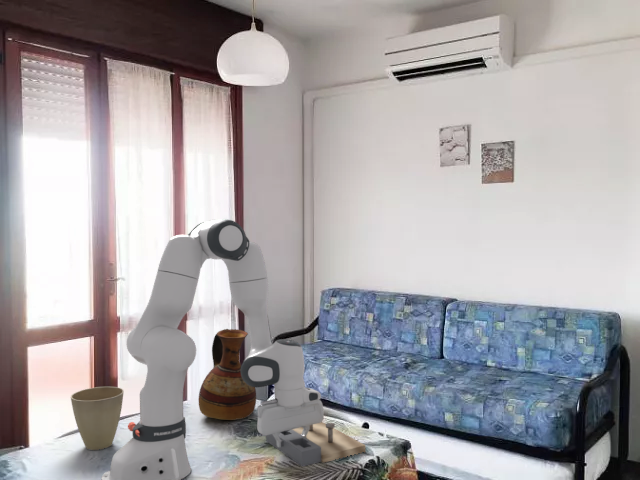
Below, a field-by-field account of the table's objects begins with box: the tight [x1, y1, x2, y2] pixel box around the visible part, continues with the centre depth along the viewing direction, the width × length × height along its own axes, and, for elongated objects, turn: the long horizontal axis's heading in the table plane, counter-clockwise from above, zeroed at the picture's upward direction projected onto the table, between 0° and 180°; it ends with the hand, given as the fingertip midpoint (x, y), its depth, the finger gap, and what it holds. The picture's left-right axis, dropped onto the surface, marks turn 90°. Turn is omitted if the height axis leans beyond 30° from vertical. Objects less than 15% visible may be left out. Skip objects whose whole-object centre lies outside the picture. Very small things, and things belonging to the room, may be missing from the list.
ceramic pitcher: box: [198, 328, 257, 421], centre depth 203 cm, size 20×20×30 cm
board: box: [292, 421, 367, 464], centre depth 176 cm, size 14×28×7 cm, turn 30°
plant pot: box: [70, 386, 124, 451], centre depth 177 cm, size 15×15×16 cm
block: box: [265, 430, 321, 467], centre depth 170 cm, size 6×23×4 cm, turn 30°
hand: (291, 443), depth 170 cm, fingers closed on block, 6 cm apart
